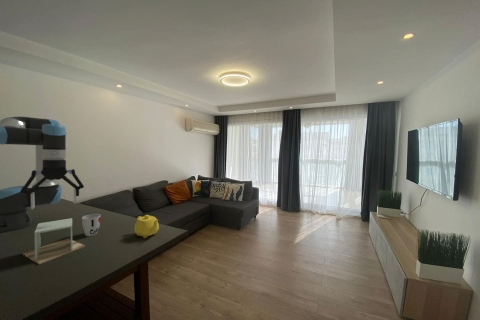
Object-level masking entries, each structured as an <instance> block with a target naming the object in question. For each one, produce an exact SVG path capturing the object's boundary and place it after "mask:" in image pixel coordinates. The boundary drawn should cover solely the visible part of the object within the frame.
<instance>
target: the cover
mask: <svg viewBox="0 0 480 320" xmlns="http://www.w3.org/2000/svg"><path fill="white" fill-rule="evenodd" d="M69 228H70V239H71V251H72V240H73V218H72V217H71V218H66V219H64V218H63V219H60V220H59V219H57V220H53V221H46V222H40V223H39V222H38V224H37V226H36V228H35V230H34V249H35V259H37V258H38V254H39V251H40V248H41V247H42V246H41V240H42V239H41V233H42V234H43V233H48V232H53V231H54V232H55V231H59V230H63V229H69Z"/></svg>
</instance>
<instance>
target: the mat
mask: <svg viewBox="0 0 480 320" xmlns="http://www.w3.org/2000/svg"><path fill="white" fill-rule="evenodd" d="M83 248H86V245H85V244H83V243H80V242H78V241H76V240H73V239H72V251H71V238H69V237H68V238H65V239H62V240H59V241H56V242H53V243H50V244H47V245H46V244H45V245H43V246H41V248H40V251H39V254H38V258H37V259H35V248H34V249H31V250H28V251H25V252H22V255H23V256H24V255H25V256H24V257H26V258H27V259H30V260H31V261H33V262H34V263H36V264H37V265H41V264H44V263H47V262H49V261H53V260H54V259H57V258H60V257H62V256H65V255H68V254H71V253H73V252H76V251H78V250H82V249H83Z"/></svg>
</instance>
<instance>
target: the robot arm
mask: <svg viewBox="0 0 480 320" xmlns="http://www.w3.org/2000/svg"><path fill="white" fill-rule="evenodd" d="M66 130H67V129H66V126H64V125H61V124H60V122H59V121H58V120H55V119H50V118H38V117H30V116H11V117H5V118H2V119H0V145H20V146H22V145H23V146H35V169H33V170H32V171H31V175H30V176H29V178H28V180H27V181H26V182H25V184H24V185H17V186H10V187H6V188H2V189H0V233H3V232H4V233H5V232H11V231H16V230H19V229H23V228H26V227H30V226H31V225H32V224H33V222H32V221H33V219H32V218H31V216H30V214H29V212H28V208H30V209H31V210H34V209H35V207H39V206H47V205H48V206H49V205H53V204H57V203H59V202H60V201H61V197H62V193H63V191H62V190H63V186H62V185H59V182H58V180H59V181H60V180H61V179H62V180H64V182H66V183H68V185H70V186H71V187H72V188H73V205H76V204H77V197H79V196H80V190H81V189H84V187H85V186H84V184H83V182H82V181H81V179H80V178H79V177H78V175H77V174H76V170H75V169H74V168H72V169H67V160H66V158H67V148H66V141H67V140H66V138H67V136H66V135H67V131H66ZM68 173H69V175H72V177H73V179H74V180H75V182H76V183H77V184H78V185H77V184H76V183H74V182H73V181H72V180H71V179H69V178H68V177H67V176H66V175H67V174H68ZM34 179H35V182H34V183H33V184H32V185H31V183H32V182H33V181H34ZM30 185H31V187H29V186H30Z"/></svg>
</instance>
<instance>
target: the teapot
mask: <svg viewBox="0 0 480 320" xmlns="http://www.w3.org/2000/svg"><path fill="white" fill-rule="evenodd" d="M158 221H159V219H157V217H155V216H153V215H149V214H146V215H144V216H140V215H139V216H137V218H136V222H135V223H134V229H133V231H134V233H135V234H136V235H137V236H138V237H139V236H140V237H142V238H143V239H147V238H148V237H150V236H152V235H153V236H154V235H156V234H157V233H158V232H159V229H160V226H159V222H158Z"/></svg>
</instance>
